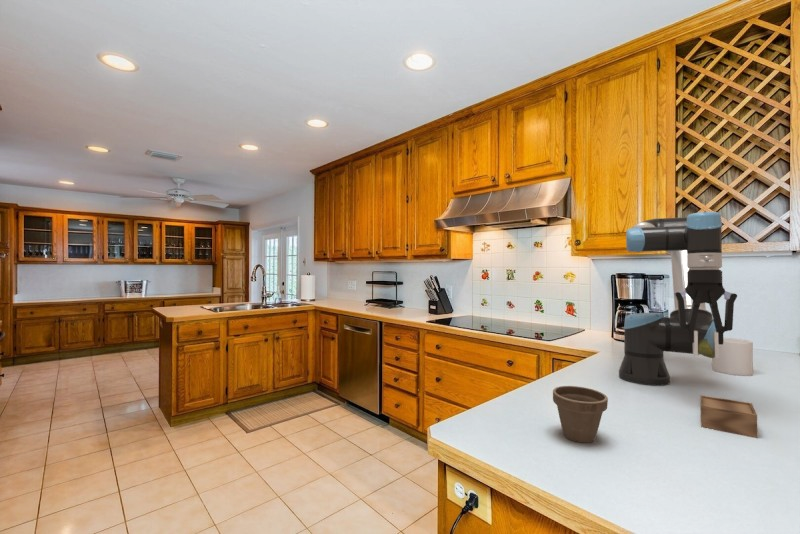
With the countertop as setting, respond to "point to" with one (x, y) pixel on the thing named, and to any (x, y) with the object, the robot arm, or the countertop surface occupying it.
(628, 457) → the countertop surface
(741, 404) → the walnut tray
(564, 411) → the flower pot
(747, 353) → the cup
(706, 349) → the lime
